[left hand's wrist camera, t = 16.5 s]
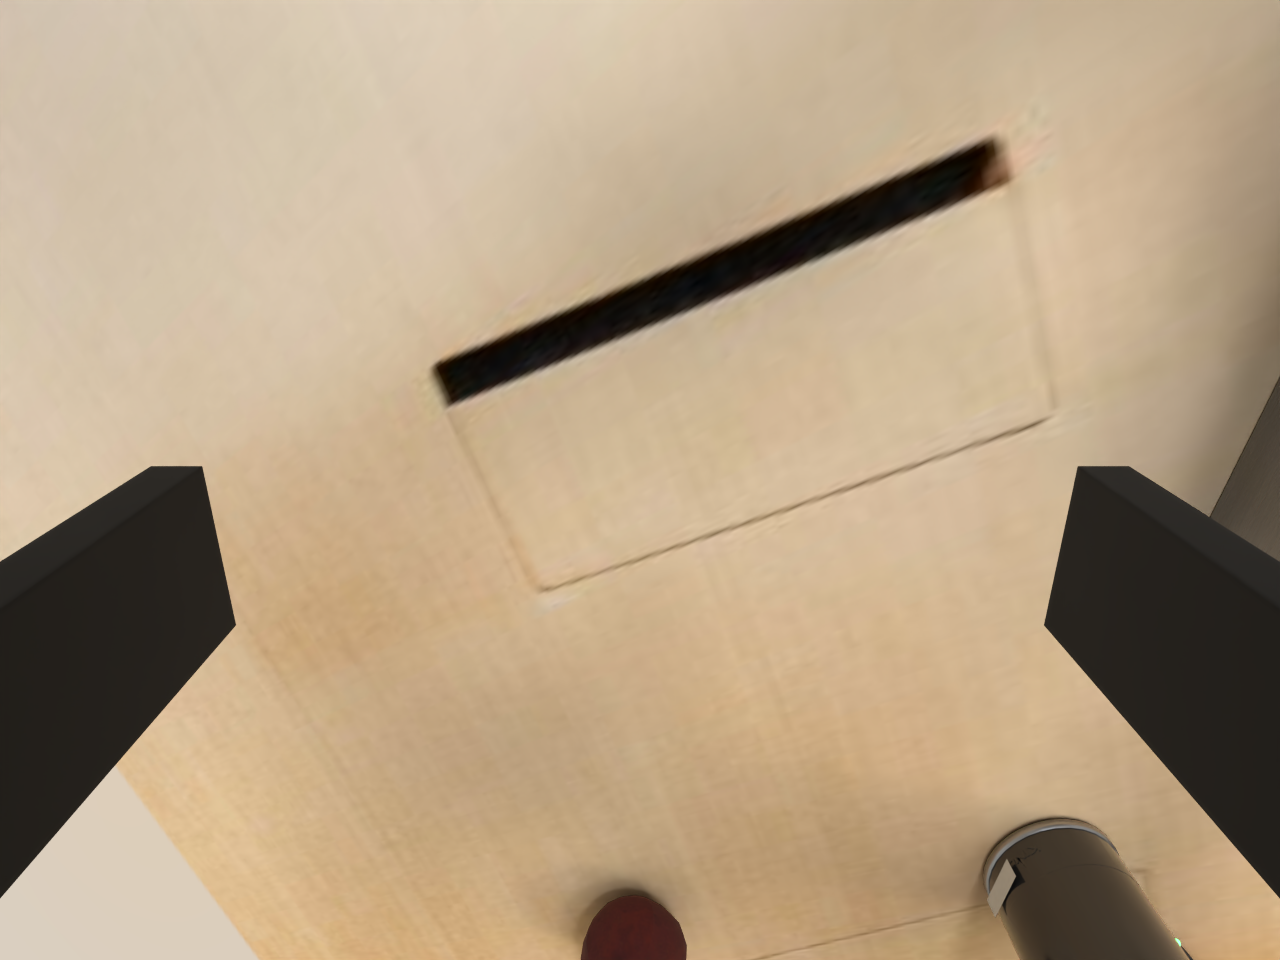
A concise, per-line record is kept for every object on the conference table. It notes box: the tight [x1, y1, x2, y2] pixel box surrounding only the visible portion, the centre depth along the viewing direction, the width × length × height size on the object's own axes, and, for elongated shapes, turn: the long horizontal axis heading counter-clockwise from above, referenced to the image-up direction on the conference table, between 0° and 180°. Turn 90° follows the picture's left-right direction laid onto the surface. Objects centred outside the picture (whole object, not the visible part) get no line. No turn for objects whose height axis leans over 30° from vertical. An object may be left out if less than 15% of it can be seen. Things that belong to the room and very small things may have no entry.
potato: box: [581, 895, 687, 960], centre depth 57 cm, size 7×8×7 cm
